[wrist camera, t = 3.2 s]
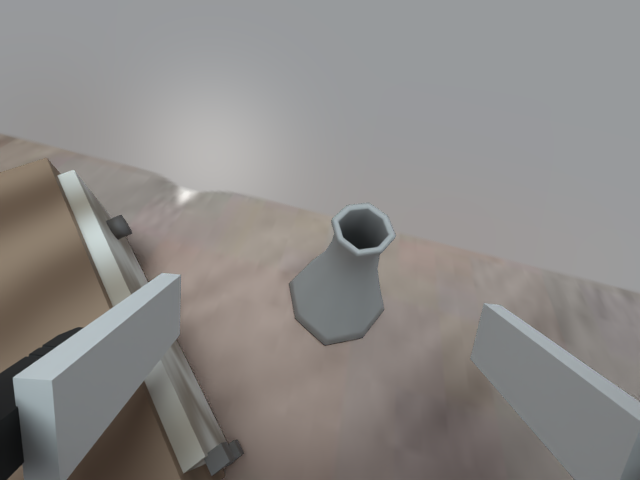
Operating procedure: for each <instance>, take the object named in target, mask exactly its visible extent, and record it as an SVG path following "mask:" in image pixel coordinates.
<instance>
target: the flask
mask: <svg viewBox="0 0 640 480" xmlns="http://www.w3.org/2000/svg"><path fill="white" fill-rule="evenodd" d="M331 223H332V227H333V230H334V236H333V239H332V242H331V243H330V245H329V246H328V248H327V249H326V251H325V252H323V253H322V254H320V255H319V256H317V257H316V258H315V259H314V260H313V261H311V262H310V263H309V264H308V265H307V266H306V267H305V268H304V269H303V270H302V271H301V272H300V273H299V274H298V275H297V276H296V277H295V278H294V279H293V280H292V281H291V282H290V283H289V286H290V292H291V297H292V303H293V308H294V314H295V319H296V320H297V321H299V322H300V323H301V324H302V325H303V326H304V327H305V328H306V329H307V330H308V331H310V332H311V333H312V334H313V335H314V336H315V337H316V338H317V339H318V340H319V341H321V342H322V343H323V344H324V345H329V344H333V343H338V342H343V341H348V340H353V339H358V338H363V336H364V335H365V334H366V332H367V331H368V330H369V329H370V327H371V326H372V325H373V323H374V322H375V321H376V320H377V318H378V317H379V316H380V314H381V313H382V312H383V311H384V305H383V300H382V296H381V291H380V285H379V278H378V270H377V268H378V262H379V256H380V254H381V253H382V252H383V251H384V250H385V249H386V248H387V246H388V245H389V244H390V243H391V242H392V241H393V240H394V239H395V237H396V235H395V232H394V230H393V227H392V225H391V222H390V220H389V217H388V216H387V215H386V214H385V213H383V212H381V211H380V210H379V209H377V208H376V207H374V206H373V205H372V204H370V203H361V204H353V205H347V206H346V207H344V208H343V209H342V210H341V211H340V212H339V213H338V214H337V215H336V216H335V217H333V218H332V220H331Z"/></svg>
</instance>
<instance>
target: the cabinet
mask: <svg viewBox="0 0 640 480" xmlns="http://www.w3.org/2000/svg"><path fill="white" fill-rule="evenodd" d="M130 234H132V231H131V229H130V227H129V226H128V224H127V222H126V221H125V219H124V218H123V216H122V215H119V216H116V217H114V218H112V217H111V216H110V214H109V213H108V212H107V211H106V209H105V208H104V207H103V206H102V204H101V203H100V202H99V201H98V199H97V198H96V197H95V196H94V194H93V193H92V192H91V191H90V189H89V188H88V187H87V186H86V184H85V183H84V182H83V181H82V179H81V178H80V177H79V176H78V174H77V173H76V172H75V171H74V170H72V171H69V172H66V173H63V174H60V173H59V171H58V170H57V169H56V168H55V167H54V166H53V165H52V163H51V162H50V161H49V160H48V159H47V158H44V159H41V160H38V161H35V162H32V163H28V164H25V165H22V166H19V167H16V168H13V169H9V170H6V171H3V172H0V373H1V372H3V371H4V370H6V369H7V368H9V367H10V366H12V365H13V364H15V363H16V362H18V361H19V360H21V359H22V358H24V357H25V356H27V357H28V356H29V354H30V353H31V352H33V351H35V350H36V349H38V348H39V347H40V348H41V347H42V345H44V344H45V343H47V342H48V341H50V340H51V339H53V338H54V337H56V336H57V335H59V334H62V333H64V332H67V331H69V330H72V329H74V328H77V327H83V328H84V327H86V326H87V325H89V324H90V323H91V322H93V321H94V320H96V319H97V318H99V317H100V316H101V315H103V314H104V313H106V312H107V311H109V310H110V309H111V308H113V307H114V306H116V305H117V304H119V303H120V302H121V301H123V300H124V299H126V298H127V297H129V296H130V295H131V294H133V293H134V292H136V291H137V290H139V289H140V288H141V287H143V286H144V285H146V284H147V283H148V281H147V279H146V277H145V275H144V273H143V271H142V269H141V267H140V265H139V263H138V261H137V259H136V257H135V255H134V253H133V251H132V249H131V247H130V245H129V243H128V241H127V239H126V237H125V236H128V235H130ZM243 454H244V452H243V450H242V448H241V446H240V444H239V442H238V440H233V441H232V442H231V443H230V444H228V443H227V441H226V439H225V437H224V435H223V433H222V431H221V429H220V427H219V425H218V423H217V421H216V419H215V417H214V415H213V413H212V411H211V409H210V407H209V405H208V403H207V401H206V399H205V397H204V394H203V392H202V390H201V388H200V386H199V384H198V382H197V380H196V378H195V376H194V374H193V372H192V370H191V368H190V366H189V364H188V362H187V360H186V358H185V356H184V354H183V352H182V350H181V348H180V346H179V344H178V342H177V340H175V342H174V343H173V344H172V345H171V347H170V348H169V349H168V350H167V352H166V353H165V354H164V356H163V357H162V358H161V359H160V361H159V362H158V363H157V365H156V366H155V367H154V368H153V370H152V371H151V372H150V374H149V375H148V376H147V377H146V379H145V380H144V381H143V382H142V384H141V385H140V386H139V388H138V389H137V390H136V391H135V393H134V394H133V395H132V397H131V398H130V399H129V400H128V402H127V403H126V404H125V405H124V407H123V408H122V409H121V411H120V412H119V413H118V414H117V416H116V417H115V418H114V420H113V421H112V422H111V423H110V425H109V426H108V427H107V429H106V430H105V431H104V432H103V434H102V435H101V436H100V437H99V439H98V440H97V441H96V443H95V444H94V445H93V446H92V448H91V449H90V450H89V452H88V453H87V454H86V455H85V457H84V458H83V459H82V460H81V462H80V463H79V464H78V466H77V467H76V468H75V469H74V471H73V472H72V473H71V475H70V476H69V477H68V478H67V480H221V479H222V478H224V477H225V476H226V475H225V473H224V471H223V468H224V467H225V466H228V465H230V464H231V463H233V462H234V461H235V460H236V459H238V458H239V457H240V456H241V455H243ZM7 480H24V475H23V466H22V465H21V466H20V467H19V468H18V469H17V470H16V471H15V472H14V473H13V474H12V475H11V476H10V477H9V478H8V479H7Z"/></svg>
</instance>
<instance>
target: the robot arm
mask: <svg viewBox="0 0 640 480" xmlns="http://www.w3.org/2000/svg"><path fill="white" fill-rule="evenodd" d="M180 297H181V275H178V274H167V273H161V274H160V275H159V276H157V277H156V278H154V279H153V280H151V281H150V282H149V283H147V284H146V285H144V286H143V287H141V288H140V289H139V290H137V291H136V292H134V293H133V294H131V295H130V296H129V297H127V298H126V299H124V300H123V301H121V302H120V303H119V304H117V305H116V306H114V307H113V308H111V309H110V310H109V311H107V312H106V313H104V314H103V315H101V316H100V317H99V318H97V319H96V320H94V321H93V322H91V323H90V324H89V325H87V326H86V327H84V328H83V327H77V328H74V329H72V330H69V331H67V332H64V333H62V334H59V335H57V336H56V337H54V338H53V339H51V340H50V341H48V342H47V343H45V344H44V345H42V347H41V348H40V347H39V348H38V349H36V350H35V351H33V352H31V353H30V354H29V356H28V357H27V356H25V357H24V358H22V359H21V360H19V361H18V362H16V363H15V364H13V365H12V366H10V367H9V368H7V369H6V370H4V371H3V372H1V373H0V480H7V479H8V478H9V477H10V476H11V475H12V474H13V473H14V472H15V471H16V470H17V469H18V468H19V467H20V466H21V465H22V466H23V475H24V480H67V478H68V477H69V476H70V475H71V473H72V472H73V471H74V469H75V468H76V467H77V466H78V464H79V463H80V462H81V460H82V459H83V458H84V457H85V455H86V454H87V453H88V452H89V450H90V449H91V448H92V446H93V445H94V444H95V443H96V441H97V440H98V439H99V437H100V436H101V435H102V434H103V432H104V431H105V430H106V429H107V427H108V426H109V425H110V423H111V422H112V421H113V420H114V418H115V417H116V416H117V414H118V413H119V412H120V411H121V409H122V408H123V407H124V405H125V404H126V403H127V402H128V400H129V399H130V398H131V397H132V395H133V394H134V393H135V391H136V390H137V389H138V388H139V386H140V385H141V384H142V382H143V381H144V380H145V379H146V377H147V376H148V375H149V374H150V372H151V371H152V370H153V368H154V367H155V366H156V365H157V363H158V362H159V361H160V359H161V358H162V357H163V356H164V354H165V353H166V352H167V350H168V349H169V348H170V347H171V345H172V344H173V343H174V342H175V340H176V339H177V338H178V336H179V335H180ZM470 359H471V360H472V361H473V363H474V364H475V365H476V366H477V367H478V368H479V369H480V371H481V372H482V373H483V374H484V375H485V376H486V378H487V379H488V380H489V381H490V382H491V383H492V385H493V386H494V387H495V388H496V389H497V390H498V391H499V393H500V394H501V395H502V396H503V397H504V398H505V400H506V401H507V402H508V403H509V404H510V405H511V407H512V408H513V409H514V410H515V411H516V412H517V413H518V415H519V416H520V417H521V418H522V419H523V420H524V422H525V423H526V424H527V425H528V426H529V427H530V429H531V430H532V431H533V432H534V433H535V434H536V435H537V437H538V438H539V439H540V440H541V441H542V442H543V444H544V445H545V446H546V447H547V448H548V449H549V451H550V452H551V453H552V454H553V455H554V456H555V457H556V459H557V460H558V461H559V462H560V463H561V464H562V466H563V467H564V468H565V469H566V470H567V471H568V473H569V474H570V475H571V476H572V477H573V478H574V479H575V480H640V402H639V401H638V400H636V399H635V398H633V397H632V396H630V395H629V394H627V393H626V392H625V391H623V390H622V389H620V388H619V387H617V386H616V385H615V384H613V383H612V382H610V381H609V380H607V379H606V378H605V377H603V376H602V375H600V374H599V373H597V372H596V371H594V370H593V369H592V368H590V367H589V366H587V365H586V364H584V363H583V362H582V361H580V360H579V359H577V358H576V357H574V356H573V355H572V354H570V353H569V352H567V351H566V350H564V349H563V348H561V347H560V346H559V345H557V344H556V343H554V342H553V341H551V340H550V339H549V338H547V337H546V336H544V335H543V334H541V333H540V332H539V331H537V330H536V329H534V328H533V327H531V326H530V325H528V324H527V323H526V322H524V321H523V320H521V319H520V318H518V317H517V316H516V315H514V314H513V313H511V312H510V311H508V310H507V309H506V308H504V307H503V306H501V305H496V304H485V303H484V305H483V309H482V313H481V317H480V321H479V325H478V329H477V333H476V338H475V342H474V346H473V350H472V354H471V358H470Z"/></svg>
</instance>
